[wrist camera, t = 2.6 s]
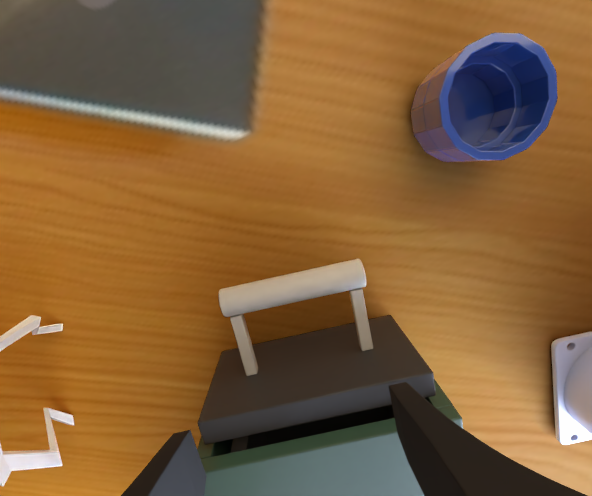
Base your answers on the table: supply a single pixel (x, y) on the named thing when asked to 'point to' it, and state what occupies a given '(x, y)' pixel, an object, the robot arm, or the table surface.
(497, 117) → the blue cup
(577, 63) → the table surface
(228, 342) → the table surface
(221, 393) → the drawer
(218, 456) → the sage green box
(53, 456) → the origami figure
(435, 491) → the robot arm
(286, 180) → the table surface
